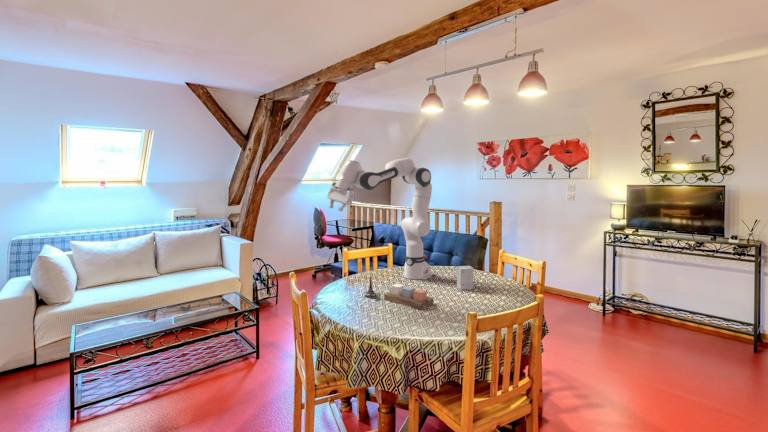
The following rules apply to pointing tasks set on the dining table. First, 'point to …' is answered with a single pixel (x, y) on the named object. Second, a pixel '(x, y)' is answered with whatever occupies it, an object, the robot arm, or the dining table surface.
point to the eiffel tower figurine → (372, 293)
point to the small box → (465, 277)
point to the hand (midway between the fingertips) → (335, 209)
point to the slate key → (408, 292)
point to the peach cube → (420, 295)
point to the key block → (408, 301)
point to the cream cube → (396, 289)
